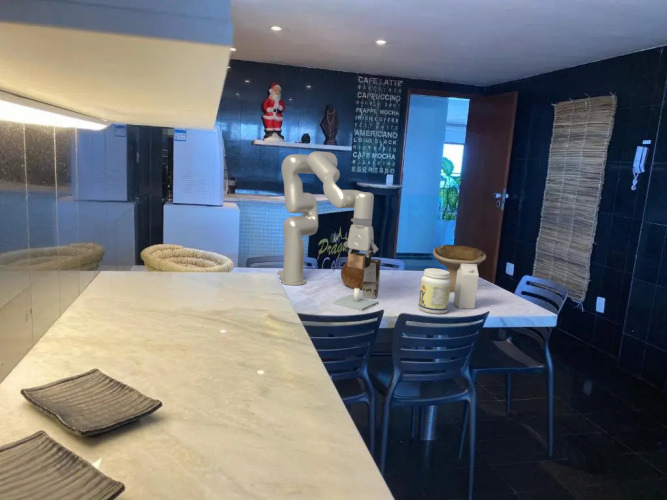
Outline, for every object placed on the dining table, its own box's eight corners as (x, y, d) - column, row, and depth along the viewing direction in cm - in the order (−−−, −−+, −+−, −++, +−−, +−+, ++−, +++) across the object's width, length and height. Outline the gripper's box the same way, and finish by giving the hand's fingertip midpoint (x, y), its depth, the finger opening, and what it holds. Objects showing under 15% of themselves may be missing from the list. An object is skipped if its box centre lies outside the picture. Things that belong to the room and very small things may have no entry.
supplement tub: (415, 305, 216) (419, 266, 213) (443, 306, 217) (447, 268, 214) (421, 314, 204) (425, 273, 201) (451, 315, 205) (455, 275, 202)
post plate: (333, 303, 210) (334, 288, 209) (350, 296, 222) (351, 282, 220) (361, 311, 203) (363, 295, 201) (378, 303, 214) (379, 289, 213)
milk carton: (453, 303, 223) (458, 261, 219) (468, 304, 224) (474, 262, 220) (458, 308, 216) (463, 265, 212) (474, 309, 217) (479, 266, 213)
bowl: (419, 286, 250) (423, 246, 246) (445, 279, 268) (449, 242, 264) (465, 298, 233) (471, 256, 229) (490, 290, 251) (495, 251, 247)
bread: (343, 290, 232) (344, 266, 230) (338, 275, 261) (340, 253, 259) (376, 292, 234) (378, 268, 231) (368, 276, 262) (370, 255, 260)
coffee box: (376, 298, 221) (379, 263, 218) (361, 297, 223) (364, 261, 220) (378, 293, 230) (381, 259, 227) (364, 292, 231) (367, 257, 228)
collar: (347, 266, 208) (348, 254, 207) (356, 263, 214) (356, 252, 213) (362, 269, 204) (363, 257, 203) (370, 266, 210) (371, 254, 209)
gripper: (339, 220, 207) (336, 262, 210) (376, 225, 198) (373, 269, 201) (349, 219, 213) (346, 260, 217) (385, 224, 204) (381, 267, 207)
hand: (359, 264), depth 209 cm, fingers closed on collar, 7 cm apart
